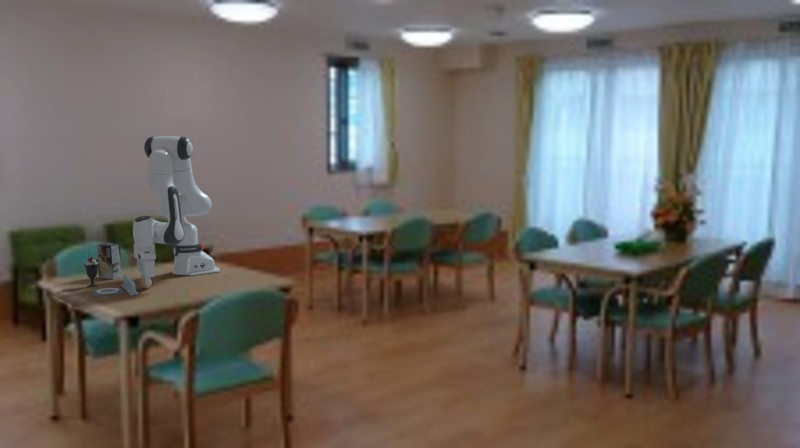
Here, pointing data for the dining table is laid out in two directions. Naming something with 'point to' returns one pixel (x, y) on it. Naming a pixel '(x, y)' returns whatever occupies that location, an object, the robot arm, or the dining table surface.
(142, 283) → the ball
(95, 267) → the sundae
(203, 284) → the dining table surface
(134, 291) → the low wall
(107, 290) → the mat
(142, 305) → the dining table surface
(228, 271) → the dining table surface
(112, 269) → the coffee box
